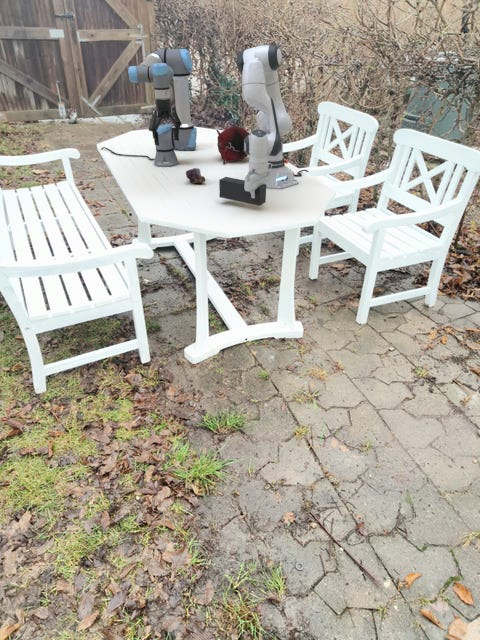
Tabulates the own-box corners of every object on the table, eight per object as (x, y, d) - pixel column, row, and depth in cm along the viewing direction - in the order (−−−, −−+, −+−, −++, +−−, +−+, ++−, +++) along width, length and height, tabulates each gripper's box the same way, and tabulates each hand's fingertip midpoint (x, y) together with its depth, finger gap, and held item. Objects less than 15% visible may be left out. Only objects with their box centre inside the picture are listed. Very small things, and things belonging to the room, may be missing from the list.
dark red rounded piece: (214, 132, 305) (214, 129, 282) (248, 124, 304) (250, 121, 281) (221, 164, 312) (221, 164, 288) (254, 157, 311) (257, 156, 288)
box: (219, 197, 231) (219, 179, 226) (225, 193, 235) (225, 176, 230) (259, 206, 220) (260, 187, 215) (265, 202, 225) (266, 184, 220)
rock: (199, 181, 267) (183, 183, 263) (197, 166, 264) (182, 168, 259) (207, 183, 258) (191, 185, 254) (206, 167, 254) (189, 169, 250)
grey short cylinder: (196, 150, 320) (194, 121, 309) (171, 151, 319) (168, 122, 308) (196, 145, 335) (194, 116, 324) (172, 145, 334) (169, 117, 322)
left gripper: (147, 102, 217) (152, 148, 229) (186, 96, 232) (189, 139, 244) (138, 100, 221) (143, 145, 233) (176, 94, 236) (180, 137, 248)
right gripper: (252, 173, 205) (252, 202, 213) (273, 163, 220) (272, 191, 228) (241, 171, 208) (241, 200, 216) (262, 161, 223) (261, 189, 230)
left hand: (167, 142), depth 238 cm, fingers open, 13 cm apart
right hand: (257, 195), depth 222 cm, fingers closed on box, 6 cm apart
